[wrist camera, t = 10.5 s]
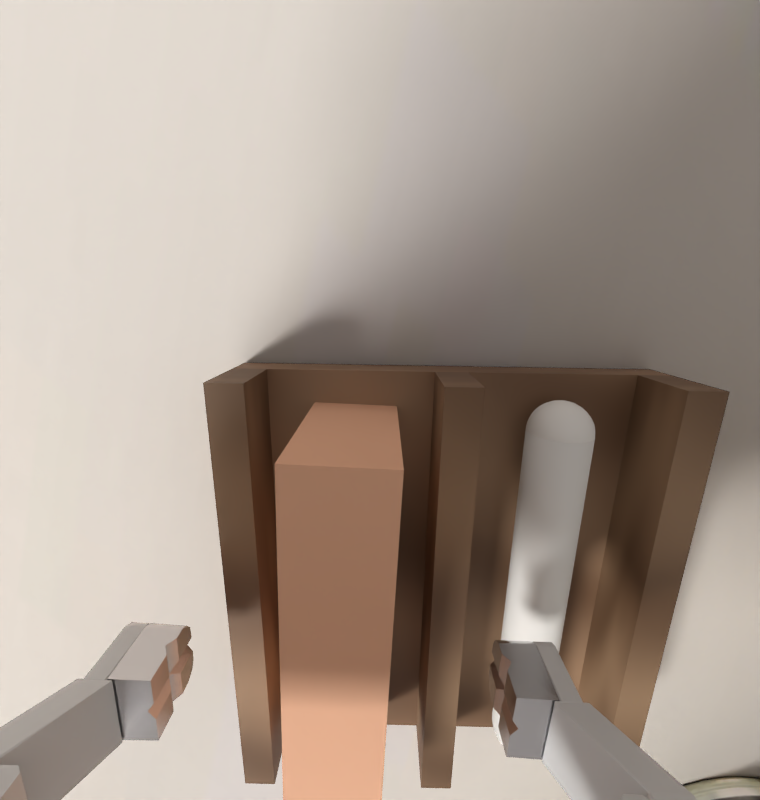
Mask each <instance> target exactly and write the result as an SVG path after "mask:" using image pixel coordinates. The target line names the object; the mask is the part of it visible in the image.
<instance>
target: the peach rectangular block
mask: <svg viewBox="0 0 760 800" xmlns="http://www.w3.org/2000/svg"><path fill="white" fill-rule="evenodd" d="M403 475H404V467H403V458H402V449H401V439H400V430H399V421H398V412H397V406H385V405H364V404H343V403H322V402H315V403H314V404H313V406H312V407H311V409H310V410H309V412H308V413H307V415H306V416H305V418H304V420H303V421H302V423H301V424H300V426H299V427H298V429H297V430H296V432H295V433H294V435H293V436H292V438H291V439H290V441H289V443H288V444H287V446H286V447H285V449H284V450H283V452H282V453H281V455H280V456H279V458H278V459H277V461H276V463H275V499H276V538H277V576H278V615H279V654H280V692H281V731H282V770H283V800H382V786H383V771H384V756H385V741H386V727H387V712H388V697H389V682H390V667H391V653H392V638H393V623H394V608H395V593H396V579H397V564H398V549H399V534H400V519H401V505H402V490H403Z"/></svg>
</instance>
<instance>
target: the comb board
mask: <svg viewBox="0 0 760 800" xmlns="http://www.w3.org/2000/svg"><path fill="white" fill-rule="evenodd" d="M203 385H204V394H205V404H206V413H207V423H208V432H209V442H210V451H211V461H212V470H213V480H214V489H215V499H216V508H217V518H218V527H219V537H220V546H221V556H222V565H223V575H224V584H225V594H226V603H227V613H228V622H229V632H230V641H231V651H232V660H233V670H234V679H235V689H236V698H237V708H238V717H239V727H240V736H241V746H242V755H243V765H244V774H245V783H257V784H275V780H276V776H277V771H278V767H279V762H280V758H281V753H282V731H281V692H280V654H279V615H278V576H277V538H276V499H275V463H276V461H277V459H278V458H279V456H280V455H281V453H282V452H283V450H284V449H285V447H286V446H287V444H288V443H289V441H290V439H291V438H292V436H293V435H294V433H295V432H296V430H297V429H298V427H299V426H300V424H301V423H302V421H303V420H304V418H305V416H306V415H307V413H308V412H309V410H310V409H311V407H312V406H313V404H314V403H315V402H322V403H343V404H364V405H385V406H397V412H398V421H399V430H400V439H401V449H402V458H403V467H404V475H403V490H402V505H401V519H400V534H399V549H398V564H397V579H396V593H395V608H394V623H393V638H392V653H391V667H390V682H389V697H388V712H387V724H388V725H417V738H418V752H419V766H420V779H421V788H451V777H452V765H453V754H454V742H455V731H456V726H472V727H493V723H492V711H493V705H492V701H491V696H490V690H489V667H490V664H491V663H492V662H493V661H494V657H493V654H492V647H493V643H494V641H495V640H501V634H502V626H503V617H504V609H505V600H506V592H507V583H508V575H509V566H510V558H511V549H512V541H513V532H514V524H515V515H516V507H517V498H518V490H519V481H520V473H521V464H522V456H523V447H524V439H525V430H526V424H527V421H528V419H529V417H530V415H531V414H532V412H533V411H534V410H535V409H536V408H537V407H539V406H540V405H542V404H544V403H546V402H550V401H554V400H565V401H569V402H573V403H575V404H577V405H579V406H581V407H582V408H583V409H584V410H585V411H587V413H588V414H589V415H590V417H591V418H592V420H593V423H594V425H595V442H594V448H593V454H592V460H591V466H590V472H589V478H588V484H587V490H586V496H585V502H584V508H583V514H582V520H581V526H580V532H579V538H578V544H577V550H576V556H575V562H574V568H573V573H572V579H571V585H570V591H569V597H568V603H567V609H566V615H565V621H564V627H563V633H562V639H561V645H560V651H559V655H560V657H561V659H562V661H563V663H564V665H565V667H566V669H567V671H568V673H569V675H570V677H571V679H572V681H573V683H574V685H575V687H576V689H577V691H578V693H579V695H580V697H581V699H582V701H583V703H590V704H591V705H592V706H593V707H594V708H595V709H597V710H598V711H599V712H600V713H601V714H602V715H603V716H604V717H606V718H607V719H608V720H609V721H610V722H611V723H612V724H614V725H615V726H616V727H617V728H618V729H619V730H620V731H621V732H623V733H624V734H625V735H626V736H627V737H628V738H629V739H631V740H632V741H633V742H634V743H635V744H636V745H637V746H638V747H639V746H640V742H641V738H642V734H643V730H644V726H645V723H646V719H647V715H648V711H649V707H650V703H651V699H652V695H653V691H654V687H655V683H656V679H657V675H658V671H659V667H660V663H661V660H662V656H663V652H664V648H665V644H666V640H667V636H668V632H669V628H670V624H671V620H672V616H673V612H674V608H675V604H676V601H677V597H678V593H679V589H680V585H681V581H682V577H683V573H684V569H685V565H686V561H687V557H688V553H689V549H690V545H691V541H692V538H693V534H694V530H695V526H696V522H697V518H698V514H699V510H700V506H701V502H702V498H703V494H704V490H705V486H706V482H707V479H708V475H709V471H710V467H711V463H712V459H713V455H714V451H715V447H716V443H717V439H718V435H719V431H720V427H721V423H722V420H723V416H724V412H725V408H726V404H727V400H728V396H729V392H728V391H725V390H721V389H718V388H714V387H710V386H707V385H703V384H700V383H696V382H693V381H689V380H686V379H682V378H678V377H675V376H671V375H668V374H664V373H661V372H657V371H654V370H650V369H594V368H533V367H472V366H412V365H351V364H290V363H243V364H241V365H239V366H237V367H235V368H233V369H231V370H229V371H227V372H225V373H223V374H221V375H219V376H217V377H215V378H213V379H210V380H208V381H206V382H204V383H203Z"/></svg>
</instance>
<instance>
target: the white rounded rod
mask: <svg viewBox="0 0 760 800" xmlns="http://www.w3.org/2000/svg"><path fill="white" fill-rule="evenodd" d="M594 442H595V425H594V423H593V420H592V418H591V417H590V415H589V414H588V413H587V411H585V410H584V409H583V408H582V407H581V406H579V405H577V404H575V403H573V402H569V401H565V400H554V401H550V402H546V403H544V404H542V405H540V406H539V407H537V408H536V409H535V410H534V411H533V412H532V414H531V415H530V417H529V419H528V421H527V424H526V430H525V439H524V447H523V456H522V464H521V473H520V481H519V490H518V498H517V507H516V515H515V524H514V532H513V541H512V549H511V558H510V566H509V575H508V583H507V592H506V600H505V609H504V617H503V626H502V634H501V640H508V641H531V642H533V641H534V642H552V643H553V644H554V645H555V647H556V649H557V651H558V653H559V651H560V645H561V639H562V633H563V627H564V621H565V615H566V609H567V603H568V597H569V591H570V585H571V579H572V573H573V568H574V562H575V556H576V550H577V544H578V538H579V532H580V526H581V520H582V514H583V508H584V502H585V496H586V490H587V484H588V478H589V472H590V466H591V460H592V454H593V448H594ZM499 719H500V715H499V714H498V713H497V711H496V710H495V709H494V708H493V711H492V723H493V728H494V731H495V734H496V736H497V738H498V740H499V741H500V742H501V744H502V745H503V742H502V739H501V735H500V731H499V728H498V725H499Z"/></svg>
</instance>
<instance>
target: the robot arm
mask: <svg viewBox="0 0 760 800" xmlns="http://www.w3.org/2000/svg"><path fill="white" fill-rule="evenodd" d="M190 639H191V631H190V627H188V626H181V625H168V624H155V623H137V622H131V623H130V624H128V625H127V626H125V627H124V629H123V630H122V631H121V632H120V634H119V635H118V636H117V637H116V639H115V640H114V641H113V643H112V644H111V645H110V646H109V648H108V649H107V650H106V651H105V653H104V654H103V655H102V656H101V658H100V659H99V660H98V662H97V663H96V664H95V665H94V667H93V668H92V669H91V670H90V672H89V673H88V674H87V675H86V677H85V678H84V679H77V680H75V681H73V682H72V683H70V684H69V685H67V686H66V687H64V688H62V689H61V690H59V691H58V692H56V693H54V694H53V695H51V696H50V697H48V698H46V699H45V700H43V701H42V702H40V703H39V704H37V705H35V706H34V707H32V708H31V709H29V710H27V711H26V712H24V713H23V714H21V715H19V716H18V717H16V718H15V719H13V720H11V721H10V722H8V723H7V724H5V725H4V726H2V727H0V800H61V799H62V798H63V797H64V796H65V795H66V794H67V793H68V792H70V791H71V790H72V789H73V788H74V787H75V786H76V785H77V784H78V783H79V782H80V781H81V780H82V779H83V778H85V777H86V776H87V775H88V774H89V773H90V772H91V771H92V770H93V769H94V768H95V767H96V766H97V765H98V764H100V763H101V762H102V761H103V760H104V759H105V758H106V757H107V756H108V755H109V754H110V753H111V752H112V751H113V750H115V749H116V748H117V747H118V746H119V745H120V744H121V743H122V740H159V739H160V737H161V735H162V733H163V731H164V729H165V727H166V725H167V723H168V721H169V719H170V717H171V715H172V713H173V702H172V701H174V700H175V699H176V698H177V697H179V696H180V695H181V694H182V693H183V692H184V689H185V687H186V685H187V683H188V681H189V678H190V674H191V671H192V666H193V651H192V650H191V649H190V647H189V646H188V645H187V644H188V642H189V641H190ZM492 654H493V657H494V661H493V662H492V663H491V664H490V667H489V690H490V696H491V701H492V705H493V708H494V709H495V710H496V711H497V713H498V714H499V715H500V719H499V725H498V728H499V731H500V735H501V739H502V742H503V746H504V750H505V753H506V757H517V758H529V759H541V760H542V762H543V764H544V765H545V766H546V768H547V769H548V770H549V772H550V773H551V774H552V776H553V777H554V778H555V779H556V781H557V782H558V783H559V785H560V786H561V787H562V789H563V790H564V791H565V792H566V794H567V795H568V796H569V798H570V799H571V800H697V799H696V798H695V796H694V795H693V794H692V793H691V792H690V791H688V790H687V789H686V788H685V787H684V786H683V785H682V784H680V783H679V782H678V781H677V780H676V779H675V778H674V777H673V776H671V775H670V774H669V773H668V772H667V771H666V770H665V769H663V768H662V767H661V766H660V765H659V764H658V763H657V762H656V761H654V760H653V759H652V758H651V757H650V756H649V755H648V754H646V753H645V752H644V751H643V750H642V749H641V748H640V747H638V746H637V745H636V744H635V743H634V742H633V741H632V740H631V739H629V738H628V737H627V736H626V735H625V734H624V733H623V732H621V731H620V730H619V729H618V728H617V727H616V726H615V725H614V724H612V723H611V722H610V721H609V720H608V719H607V718H606V717H604V716H603V715H602V714H601V713H600V712H599V711H598V710H597V709H595V708H594V707H593V706H592V705H591V704H590V703H583V701H582V699H581V697H580V695H579V693H578V691H577V689H576V687H575V685H574V683H573V681H572V679H571V677H570V675H569V673H568V671H567V669H566V667H565V665H564V663H563V661H562V659H561V657H560V655H559V653H558V651H557V649H556V647H555V645H554V644H553V643H552V642H534V641H533V642H531V641H508V640H495V641H494V643H493V647H492Z"/></svg>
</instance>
